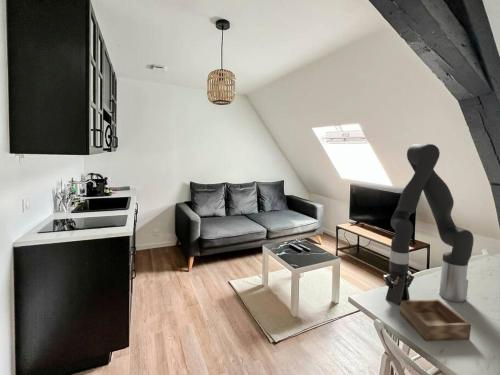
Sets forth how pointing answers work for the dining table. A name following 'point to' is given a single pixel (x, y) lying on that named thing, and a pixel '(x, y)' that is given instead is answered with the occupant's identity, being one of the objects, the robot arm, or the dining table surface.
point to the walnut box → (435, 320)
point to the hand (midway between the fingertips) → (397, 295)
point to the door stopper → (398, 291)
